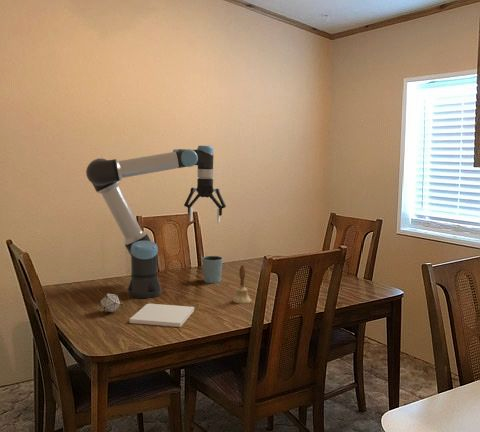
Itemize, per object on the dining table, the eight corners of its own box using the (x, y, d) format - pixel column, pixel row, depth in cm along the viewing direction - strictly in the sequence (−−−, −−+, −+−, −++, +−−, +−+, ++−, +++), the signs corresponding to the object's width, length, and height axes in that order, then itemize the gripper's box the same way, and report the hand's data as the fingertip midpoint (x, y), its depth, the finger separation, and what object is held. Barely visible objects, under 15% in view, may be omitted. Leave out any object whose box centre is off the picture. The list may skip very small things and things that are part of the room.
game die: (115, 320, 206) (130, 300, 206) (104, 319, 198) (119, 298, 198) (101, 306, 209) (116, 287, 209) (89, 304, 201) (105, 284, 201)
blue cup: (226, 280, 257) (226, 257, 255) (214, 285, 248) (215, 260, 247) (209, 277, 262) (210, 254, 260) (198, 281, 254) (198, 258, 252)
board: (194, 310, 209) (194, 306, 208) (180, 327, 189) (180, 323, 189) (147, 306, 212) (147, 303, 212) (129, 322, 192) (129, 319, 192)
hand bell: (245, 304, 218) (246, 268, 216) (229, 301, 222) (229, 265, 220) (255, 300, 225) (255, 264, 223) (239, 296, 229) (239, 262, 227)
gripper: (232, 178, 246) (231, 221, 248) (182, 176, 250) (182, 219, 252) (229, 179, 238) (228, 223, 241) (177, 177, 242) (177, 221, 245)
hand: (204, 221), depth 247 cm, fingers open, 13 cm apart
